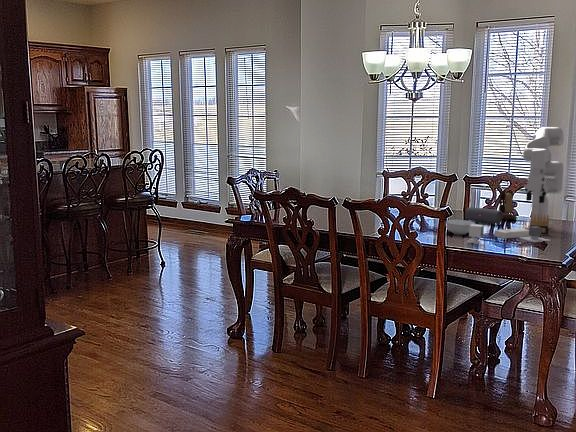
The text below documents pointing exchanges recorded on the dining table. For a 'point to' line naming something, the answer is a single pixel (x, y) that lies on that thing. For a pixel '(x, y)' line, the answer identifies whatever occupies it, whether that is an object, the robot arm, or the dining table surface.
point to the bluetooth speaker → (483, 215)
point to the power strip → (512, 233)
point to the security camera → (475, 233)
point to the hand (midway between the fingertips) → (535, 201)
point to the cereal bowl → (459, 226)
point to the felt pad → (534, 239)
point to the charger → (534, 232)
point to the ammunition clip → (536, 223)
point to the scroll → (507, 205)
